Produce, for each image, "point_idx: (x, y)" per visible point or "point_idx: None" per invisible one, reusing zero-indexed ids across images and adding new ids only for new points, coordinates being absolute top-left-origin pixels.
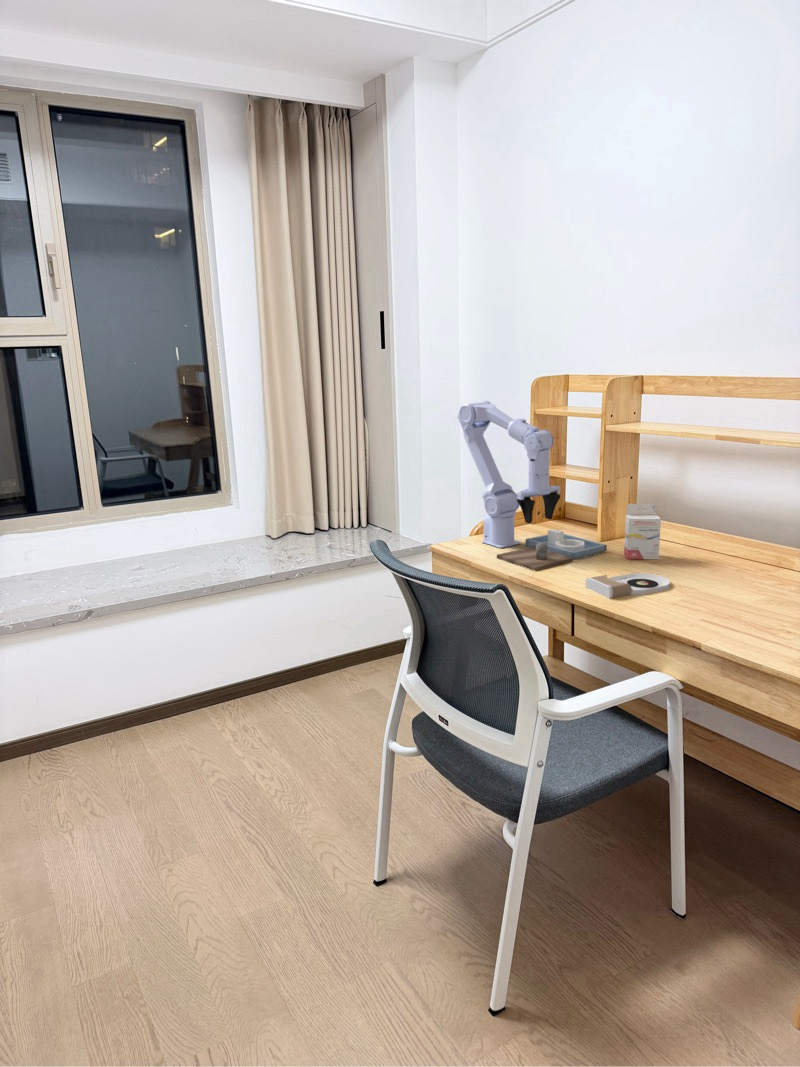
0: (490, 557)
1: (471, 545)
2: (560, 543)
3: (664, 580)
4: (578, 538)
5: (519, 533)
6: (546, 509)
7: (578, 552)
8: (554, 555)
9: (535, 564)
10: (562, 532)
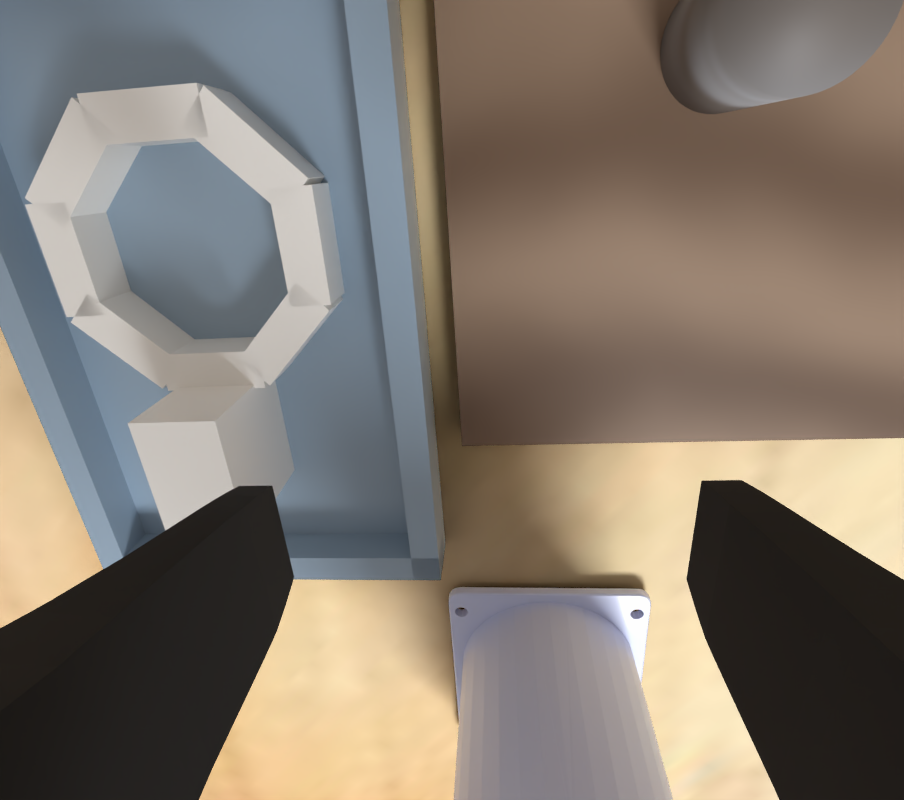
0: (897, 467)
1: (726, 729)
2: (243, 346)
3: None
4: (30, 339)
5: (303, 738)
6: (215, 697)
7: None
8: (526, 62)
9: None
10: (146, 418)
